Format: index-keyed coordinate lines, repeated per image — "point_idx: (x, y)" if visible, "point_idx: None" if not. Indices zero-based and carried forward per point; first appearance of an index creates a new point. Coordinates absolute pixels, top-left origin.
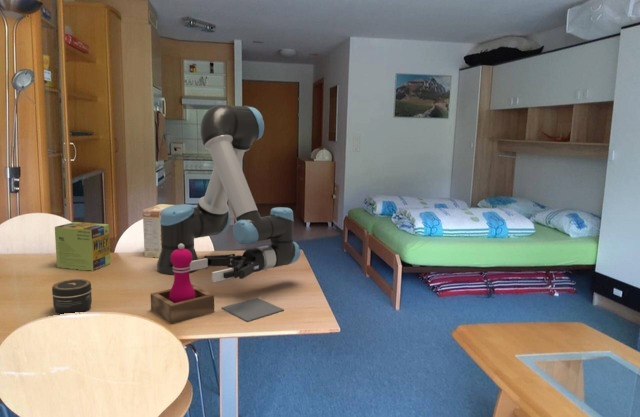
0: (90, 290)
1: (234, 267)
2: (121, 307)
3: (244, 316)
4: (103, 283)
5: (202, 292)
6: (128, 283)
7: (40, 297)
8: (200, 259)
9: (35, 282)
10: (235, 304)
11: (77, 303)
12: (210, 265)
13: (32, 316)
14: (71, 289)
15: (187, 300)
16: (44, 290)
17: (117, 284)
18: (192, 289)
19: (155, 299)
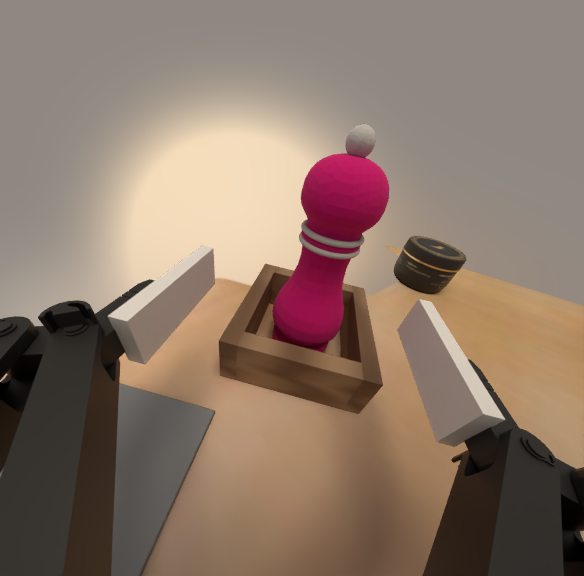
0: (422, 262)
1: (79, 303)
2: (393, 305)
3: None
4: (574, 367)
5: (276, 342)
6: (580, 402)
7: (483, 288)
8: (469, 365)
9: (572, 315)
10: (170, 483)
11: (399, 260)
12: (457, 474)
13: None
14: (410, 238)
15: (262, 289)
16: (521, 303)
17: (566, 380)
18: (285, 302)
19: None
